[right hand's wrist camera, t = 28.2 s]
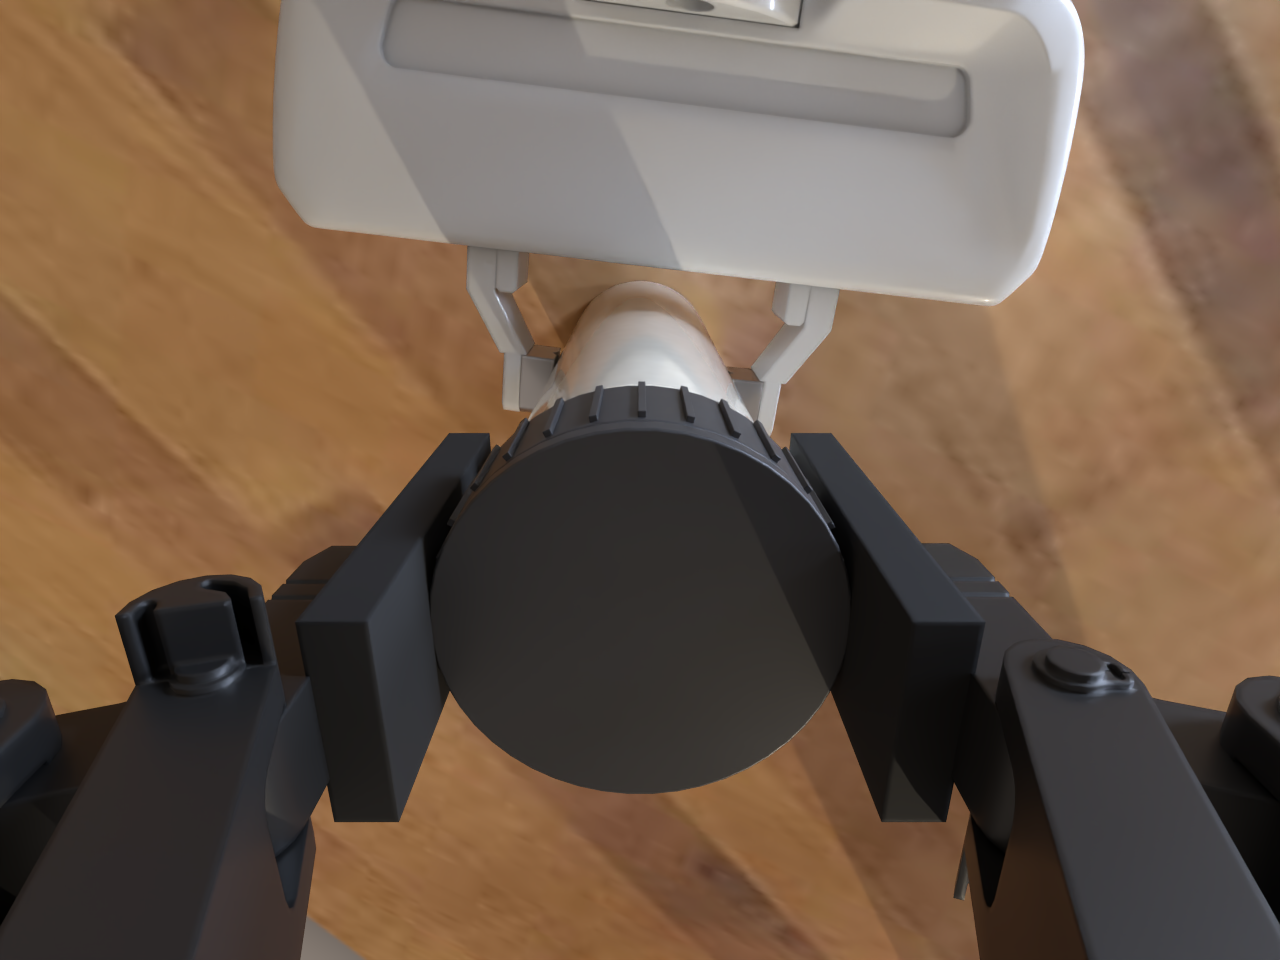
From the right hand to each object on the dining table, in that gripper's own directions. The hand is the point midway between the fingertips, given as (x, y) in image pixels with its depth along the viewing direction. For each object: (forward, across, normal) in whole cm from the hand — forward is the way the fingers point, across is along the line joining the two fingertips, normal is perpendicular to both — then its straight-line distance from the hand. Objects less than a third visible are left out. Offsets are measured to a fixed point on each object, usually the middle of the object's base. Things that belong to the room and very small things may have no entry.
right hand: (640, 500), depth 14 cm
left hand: (+9, 0, -1) cm, 9 cm away
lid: (-4, 0, 0) cm, 4 cm away
